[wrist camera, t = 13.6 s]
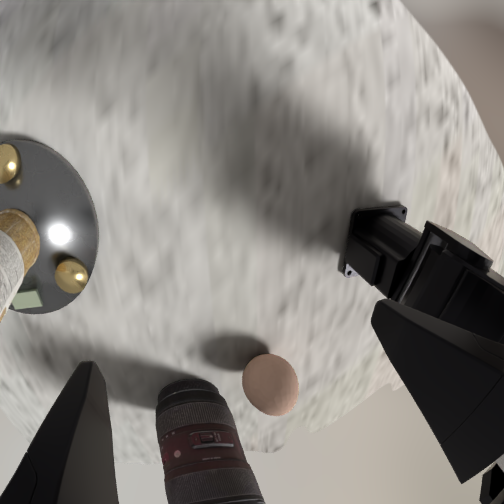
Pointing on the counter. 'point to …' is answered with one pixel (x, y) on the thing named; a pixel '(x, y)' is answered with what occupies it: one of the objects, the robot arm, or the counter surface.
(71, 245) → the tribrach plate
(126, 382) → the counter surface
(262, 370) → the egg
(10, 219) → the sprinkles bottle
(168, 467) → the camera lens
